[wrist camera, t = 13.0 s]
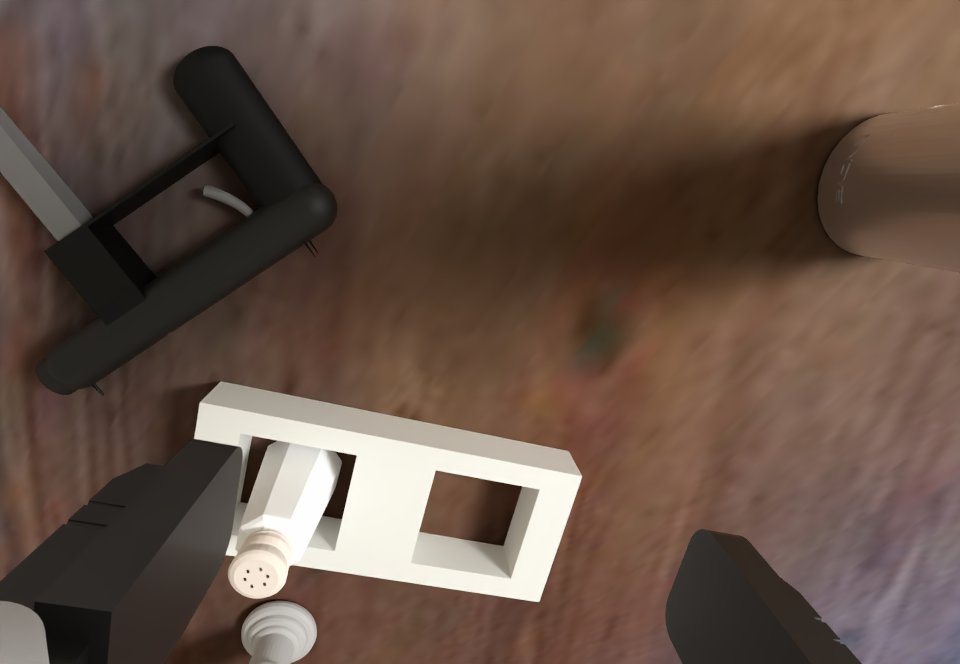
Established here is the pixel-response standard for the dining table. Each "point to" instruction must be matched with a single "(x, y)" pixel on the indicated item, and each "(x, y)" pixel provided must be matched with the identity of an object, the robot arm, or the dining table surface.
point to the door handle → (100, 247)
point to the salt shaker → (281, 515)
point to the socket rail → (406, 491)
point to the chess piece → (278, 633)
